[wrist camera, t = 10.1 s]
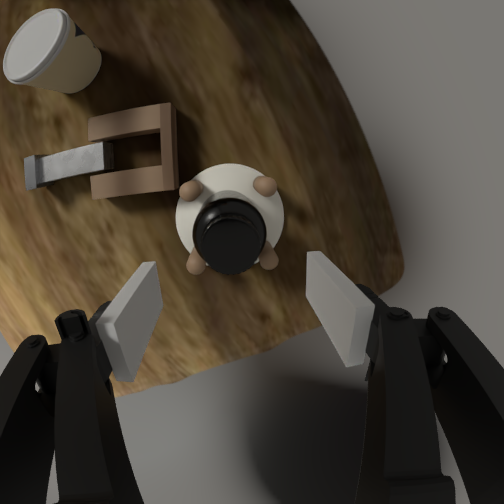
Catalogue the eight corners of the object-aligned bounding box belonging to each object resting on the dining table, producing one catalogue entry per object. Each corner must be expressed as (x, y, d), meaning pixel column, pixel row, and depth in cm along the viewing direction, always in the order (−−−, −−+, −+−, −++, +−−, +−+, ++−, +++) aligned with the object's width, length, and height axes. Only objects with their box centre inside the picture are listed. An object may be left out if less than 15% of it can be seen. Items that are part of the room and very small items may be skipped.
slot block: (103, 196, 31) (92, 199, 28) (100, 122, 28) (88, 118, 25) (179, 187, 32) (174, 189, 29) (176, 108, 29) (170, 102, 26)
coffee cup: (119, 45, 25) (81, 7, 14) (86, 106, 27) (33, 88, 16) (73, 36, 23) (30, 6, 12) (42, 92, 25) (-10, 77, 14)
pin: (43, 187, 29) (26, 190, 25) (41, 157, 28) (24, 158, 24) (114, 172, 30) (100, 173, 26) (113, 139, 29) (98, 137, 25)
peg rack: (155, 223, 33) (143, 233, 28) (226, 141, 31) (225, 136, 26) (234, 287, 36) (235, 307, 31) (304, 213, 34) (318, 222, 29)
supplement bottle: (196, 242, 33) (181, 280, 22) (203, 185, 32) (191, 195, 20) (251, 249, 34) (265, 291, 23) (261, 194, 32) (281, 209, 21)
